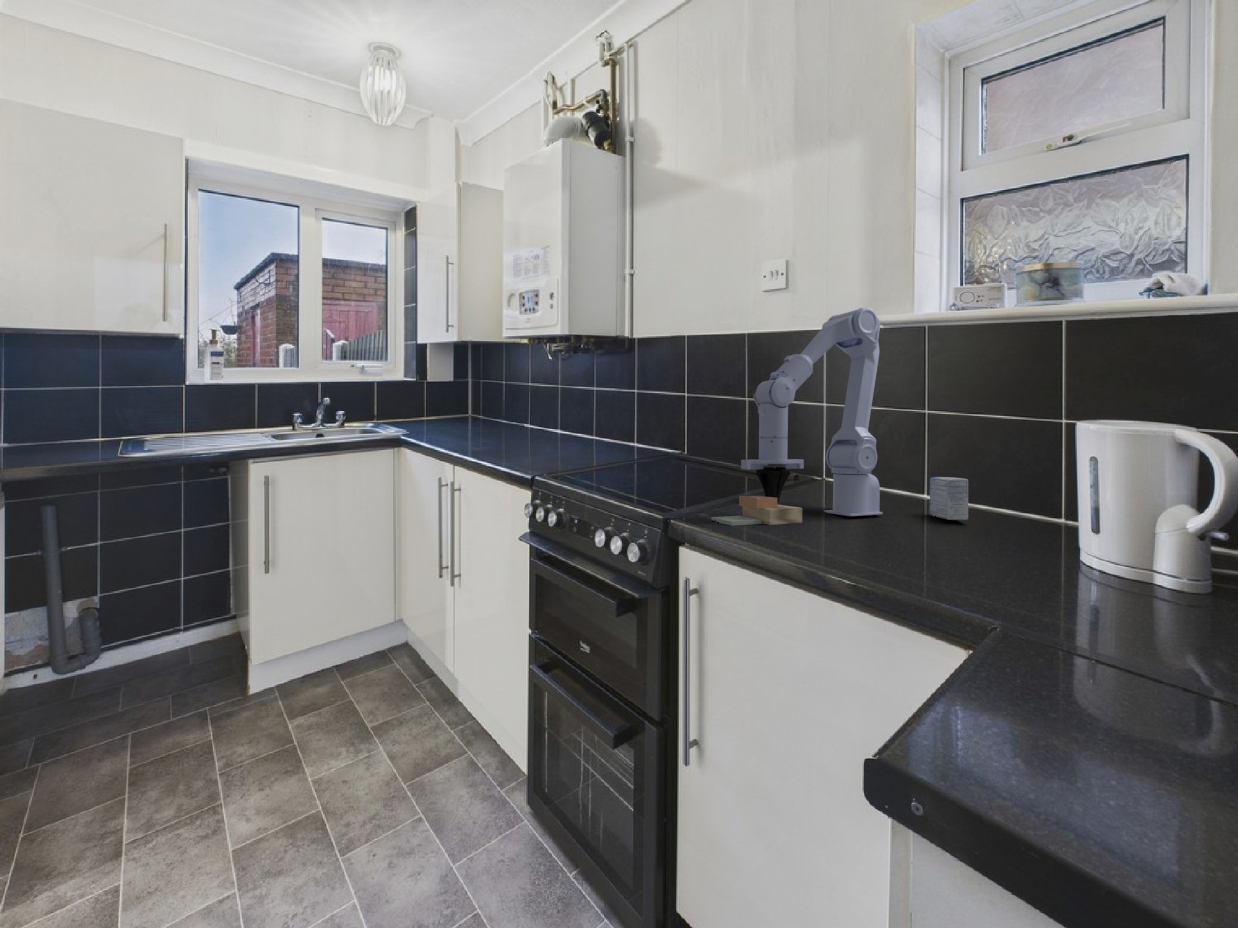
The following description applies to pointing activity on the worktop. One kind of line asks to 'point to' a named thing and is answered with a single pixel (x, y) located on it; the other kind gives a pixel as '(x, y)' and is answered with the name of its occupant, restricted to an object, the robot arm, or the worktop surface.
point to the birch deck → (775, 514)
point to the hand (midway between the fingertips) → (772, 504)
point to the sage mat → (737, 520)
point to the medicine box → (949, 498)
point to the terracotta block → (758, 501)
